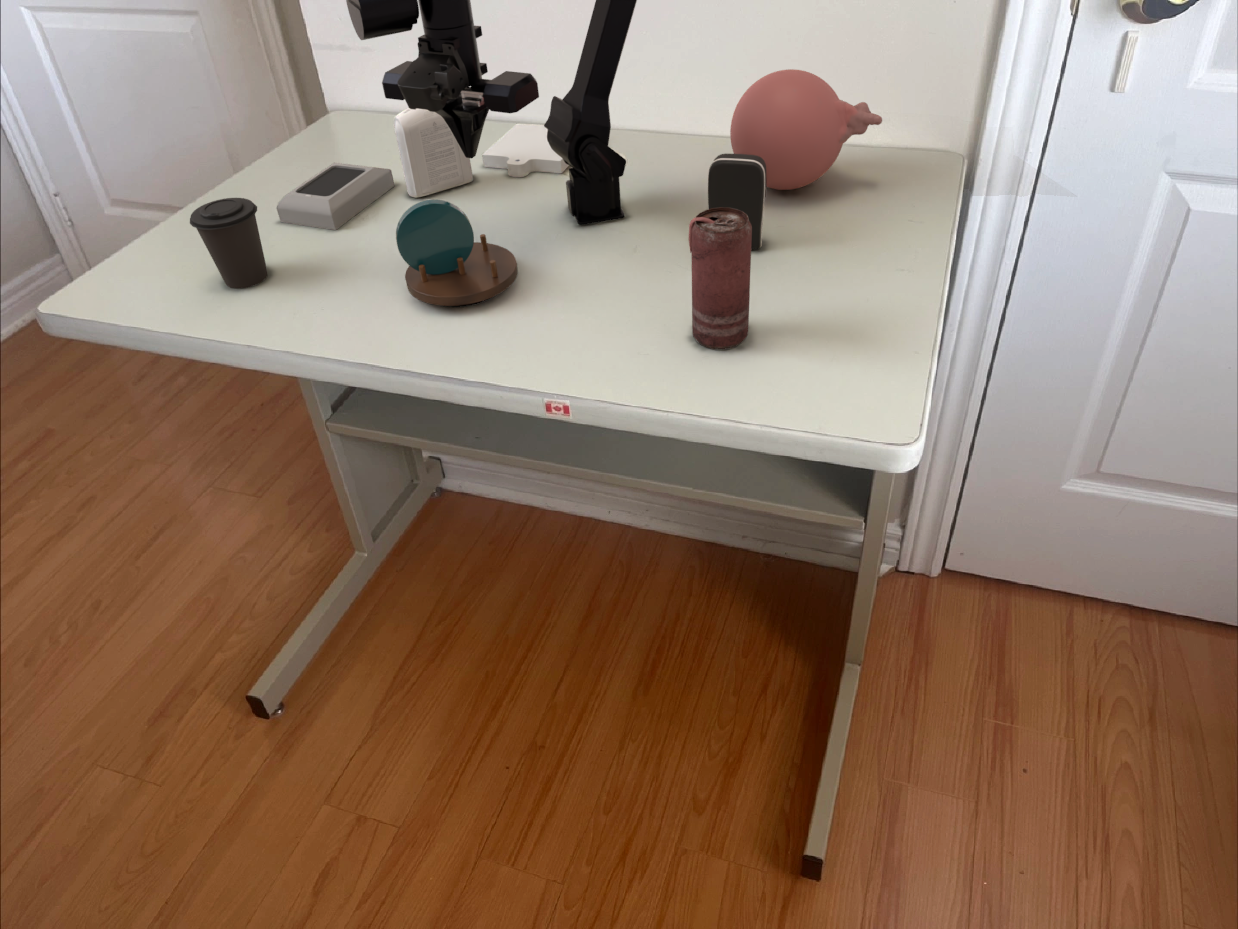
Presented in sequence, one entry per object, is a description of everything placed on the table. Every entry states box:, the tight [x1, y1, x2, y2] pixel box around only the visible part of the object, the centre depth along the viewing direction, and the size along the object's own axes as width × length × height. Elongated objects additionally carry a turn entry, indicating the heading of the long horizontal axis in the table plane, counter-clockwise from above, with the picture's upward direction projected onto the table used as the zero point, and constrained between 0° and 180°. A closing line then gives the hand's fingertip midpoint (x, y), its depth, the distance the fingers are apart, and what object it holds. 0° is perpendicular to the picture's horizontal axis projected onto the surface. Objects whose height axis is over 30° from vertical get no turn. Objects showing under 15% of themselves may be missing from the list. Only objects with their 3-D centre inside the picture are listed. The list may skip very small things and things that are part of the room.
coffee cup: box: [189, 197, 269, 290], centre depth 116 cm, size 8×8×10 cm
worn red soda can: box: [688, 207, 752, 351], centre depth 98 cm, size 6×6×14 cm
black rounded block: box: [707, 153, 767, 250], centre depth 115 cm, size 7×4×11 cm, turn 74°
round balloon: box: [729, 68, 883, 191], centre depth 125 cm, size 15×20×15 cm
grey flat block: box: [275, 162, 396, 231], centre depth 134 cm, size 10×4×15 cm
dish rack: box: [395, 199, 519, 307], centre depth 110 cm, size 14×14×10 cm
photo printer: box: [393, 107, 474, 199], centre depth 134 cm, size 10×4×12 cm, turn 123°
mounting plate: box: [481, 122, 570, 178], centre depth 144 cm, size 18×13×2 cm
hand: (470, 156), depth 115 cm, fingers closed
